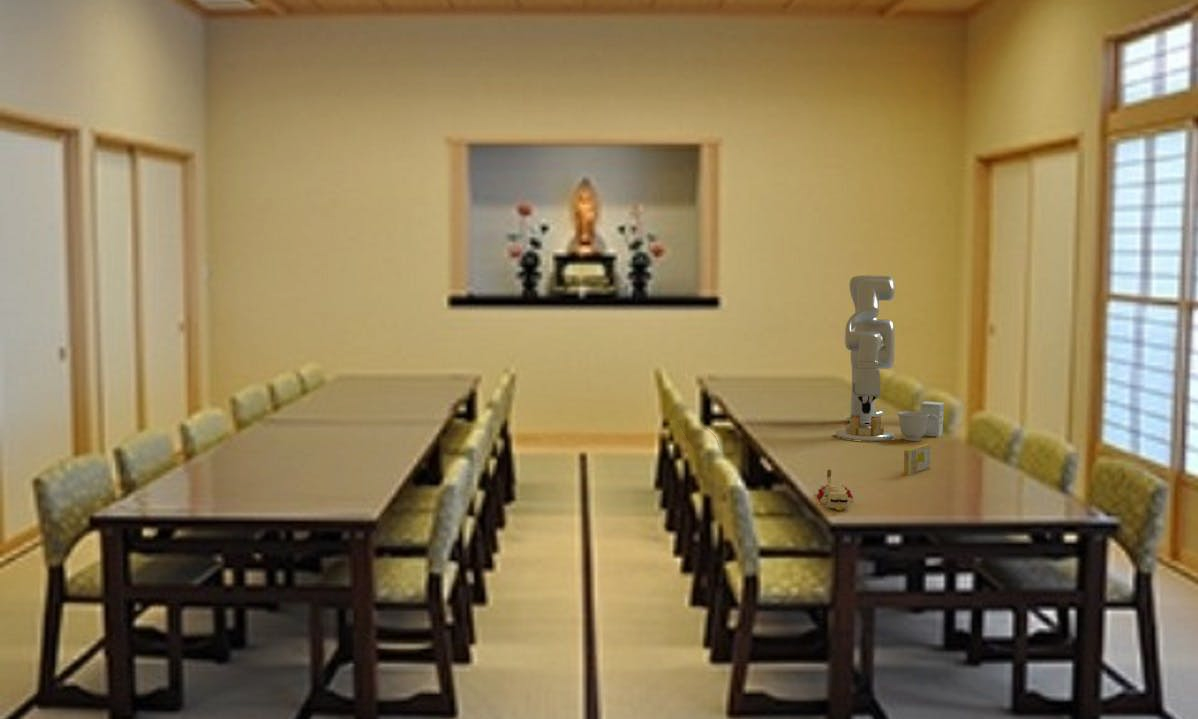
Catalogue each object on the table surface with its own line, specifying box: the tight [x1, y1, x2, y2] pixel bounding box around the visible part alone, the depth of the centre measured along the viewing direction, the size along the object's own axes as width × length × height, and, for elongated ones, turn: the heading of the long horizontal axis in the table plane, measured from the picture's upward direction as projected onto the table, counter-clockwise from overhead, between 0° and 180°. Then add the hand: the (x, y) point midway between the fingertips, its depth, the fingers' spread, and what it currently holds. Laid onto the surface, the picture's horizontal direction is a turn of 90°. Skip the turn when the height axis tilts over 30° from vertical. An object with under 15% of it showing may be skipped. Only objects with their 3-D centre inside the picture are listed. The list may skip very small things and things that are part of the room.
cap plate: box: [835, 425, 896, 442], centre depth 475 cm, size 22×22×4 cm
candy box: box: [903, 443, 931, 476], centre depth 406 cm, size 16×2×8 cm, turn 141°
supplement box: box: [920, 400, 945, 438], centre depth 482 cm, size 7×7×13 cm
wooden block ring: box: [845, 414, 885, 436], centre depth 474 cm, size 14×14×6 cm
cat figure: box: [816, 469, 855, 511], centre depth 356 cm, size 10×9×25 cm
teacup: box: [897, 410, 938, 442], centre depth 469 cm, size 12×15×10 cm
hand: (866, 413), depth 479 cm, fingers closed
